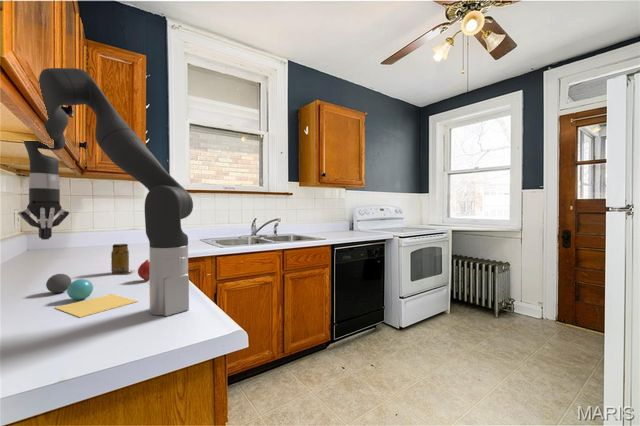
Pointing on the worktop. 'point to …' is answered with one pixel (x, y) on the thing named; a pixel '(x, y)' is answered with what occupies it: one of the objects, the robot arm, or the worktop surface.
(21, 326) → the worktop surface
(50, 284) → the dark gray ball
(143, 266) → the onion
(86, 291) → the object ball
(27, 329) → the worktop surface
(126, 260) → the condiment
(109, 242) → the worktop surface
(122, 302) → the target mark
